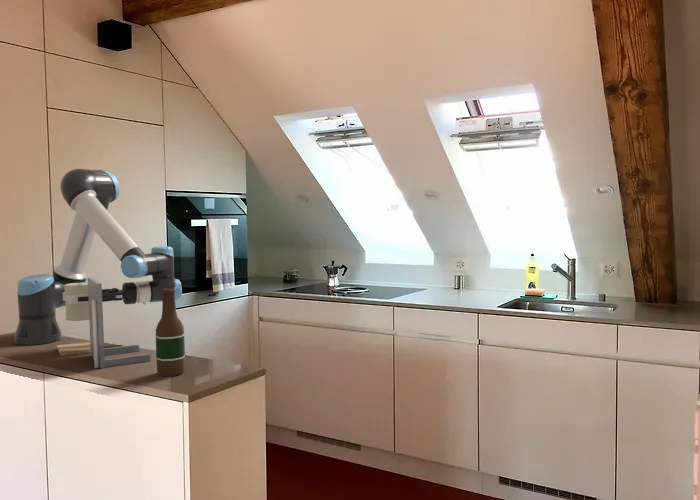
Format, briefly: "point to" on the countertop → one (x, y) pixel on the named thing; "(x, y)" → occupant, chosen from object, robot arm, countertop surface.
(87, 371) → the countertop surface
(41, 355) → the countertop surface
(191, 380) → the countertop surface
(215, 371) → the countertop surface
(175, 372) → the beer bottle
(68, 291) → the can
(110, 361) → the grey l-shaped stand
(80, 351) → the oak pad
